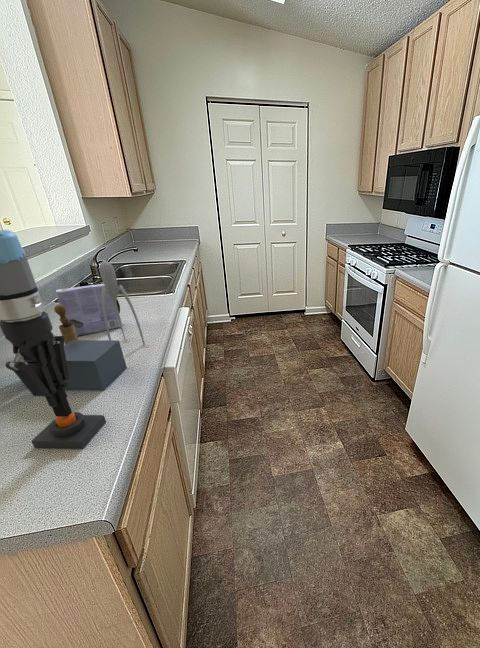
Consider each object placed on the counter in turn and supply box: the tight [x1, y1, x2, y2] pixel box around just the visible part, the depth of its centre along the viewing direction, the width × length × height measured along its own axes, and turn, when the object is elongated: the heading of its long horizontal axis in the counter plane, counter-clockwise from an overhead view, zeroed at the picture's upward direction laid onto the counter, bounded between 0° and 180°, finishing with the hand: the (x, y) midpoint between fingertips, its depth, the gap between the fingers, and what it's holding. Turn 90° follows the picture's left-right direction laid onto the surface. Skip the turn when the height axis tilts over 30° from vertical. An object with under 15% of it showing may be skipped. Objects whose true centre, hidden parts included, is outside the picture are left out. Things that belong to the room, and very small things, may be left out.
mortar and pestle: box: [53, 304, 79, 345], centre depth 107 cm, size 7×6×18 cm
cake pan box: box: [55, 283, 123, 337], centre depth 127 cm, size 19×5×18 cm, turn 123°
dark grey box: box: [61, 339, 128, 392], centre depth 96 cm, size 15×13×10 cm
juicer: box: [98, 260, 146, 346], centre depth 111 cm, size 10×9×30 cm
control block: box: [30, 411, 107, 450], centre depth 76 cm, size 11×9×4 cm
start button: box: [54, 411, 76, 427], centre depth 75 cm, size 4×4×2 cm
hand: (64, 414), depth 74 cm, fingers closed
